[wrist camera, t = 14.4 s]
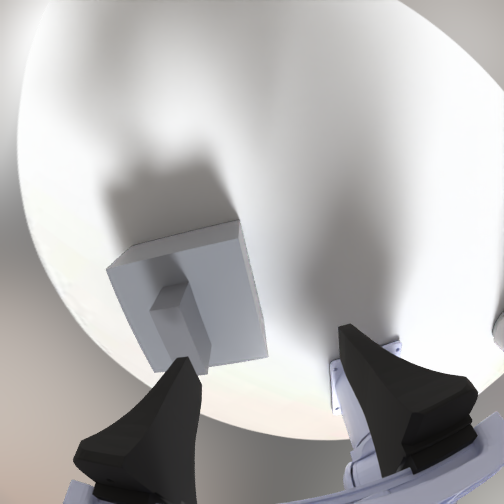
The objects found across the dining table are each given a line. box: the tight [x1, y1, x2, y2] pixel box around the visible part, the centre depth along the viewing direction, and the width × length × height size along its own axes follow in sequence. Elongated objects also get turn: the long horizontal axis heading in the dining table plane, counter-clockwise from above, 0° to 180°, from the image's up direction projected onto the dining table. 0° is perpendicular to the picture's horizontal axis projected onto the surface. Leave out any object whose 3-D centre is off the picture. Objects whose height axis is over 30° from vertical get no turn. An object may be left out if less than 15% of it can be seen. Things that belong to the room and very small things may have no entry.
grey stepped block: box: [106, 220, 268, 375], centre depth 19 cm, size 9×9×8 cm
